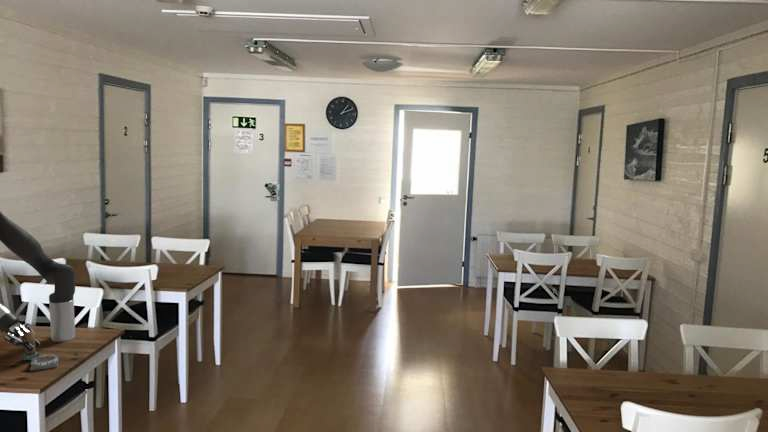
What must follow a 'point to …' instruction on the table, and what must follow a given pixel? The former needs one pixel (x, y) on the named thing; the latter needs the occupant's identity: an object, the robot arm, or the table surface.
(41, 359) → the carrier plate
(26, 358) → the brown round piece
